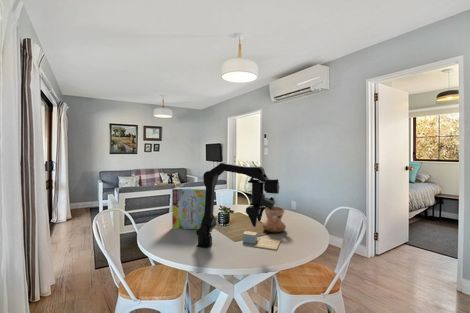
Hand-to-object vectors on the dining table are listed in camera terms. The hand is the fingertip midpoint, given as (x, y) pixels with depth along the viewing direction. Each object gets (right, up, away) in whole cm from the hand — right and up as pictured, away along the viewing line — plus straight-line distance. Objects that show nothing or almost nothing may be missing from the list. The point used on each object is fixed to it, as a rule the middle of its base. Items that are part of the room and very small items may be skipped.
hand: (257, 223), depth 119 cm
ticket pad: (+7, -14, +13) cm, 20 cm away
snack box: (-40, -13, +39) cm, 57 cm away
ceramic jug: (+14, -14, +36) cm, 41 cm away
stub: (-2, -14, +16) cm, 21 cm away
